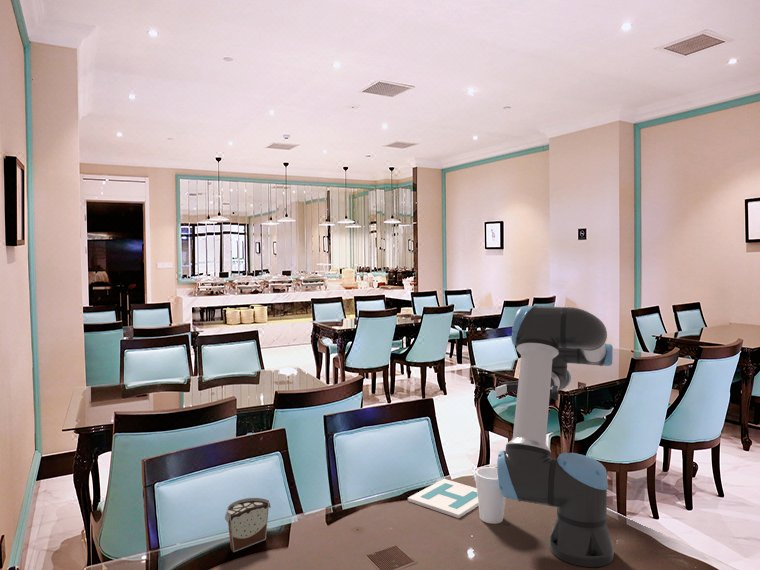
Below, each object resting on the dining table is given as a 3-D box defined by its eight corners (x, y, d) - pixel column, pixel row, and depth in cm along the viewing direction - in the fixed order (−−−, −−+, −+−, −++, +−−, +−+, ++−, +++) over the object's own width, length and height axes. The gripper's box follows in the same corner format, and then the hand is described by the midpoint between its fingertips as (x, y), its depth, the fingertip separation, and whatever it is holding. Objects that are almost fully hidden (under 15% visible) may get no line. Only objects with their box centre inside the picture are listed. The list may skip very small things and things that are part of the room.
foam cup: (511, 526, 153) (512, 479, 152) (477, 526, 153) (478, 479, 152) (504, 511, 162) (504, 467, 162) (472, 510, 162) (473, 466, 162)
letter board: (492, 496, 173) (493, 492, 173) (458, 518, 157) (458, 514, 157) (444, 481, 184) (444, 478, 184) (407, 500, 169) (407, 497, 169)
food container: (258, 529, 150) (258, 492, 149) (270, 537, 145) (270, 499, 145) (215, 545, 141) (215, 506, 141) (228, 554, 137) (228, 514, 136)
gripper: (580, 401, 181) (555, 414, 164) (510, 389, 197) (480, 401, 180) (581, 378, 180) (555, 389, 164) (510, 368, 196) (480, 378, 180)
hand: (516, 395), depth 172 cm, fingers open, 13 cm apart
